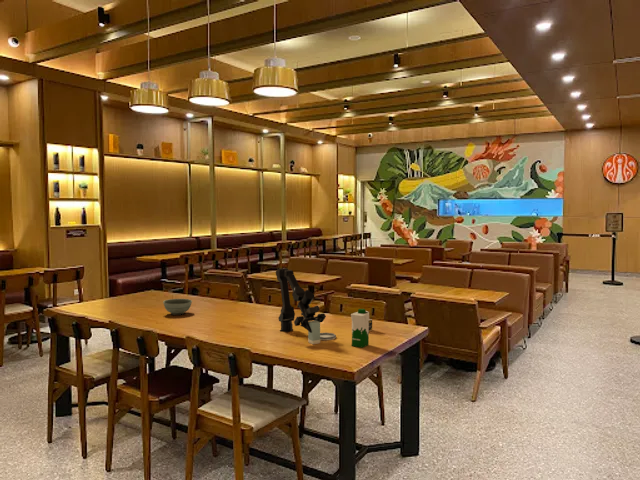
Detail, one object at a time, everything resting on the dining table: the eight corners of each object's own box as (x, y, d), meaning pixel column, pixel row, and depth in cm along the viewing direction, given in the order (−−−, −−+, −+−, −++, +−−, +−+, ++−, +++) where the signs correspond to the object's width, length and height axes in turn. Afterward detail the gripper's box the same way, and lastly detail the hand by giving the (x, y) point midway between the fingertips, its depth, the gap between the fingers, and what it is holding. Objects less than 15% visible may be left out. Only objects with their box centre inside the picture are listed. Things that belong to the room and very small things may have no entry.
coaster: (311, 338, 287) (311, 336, 287) (320, 334, 298) (320, 331, 298) (330, 341, 282) (330, 338, 282) (339, 336, 293) (339, 333, 293)
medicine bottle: (363, 332, 302) (363, 313, 301) (356, 330, 308) (356, 311, 307) (372, 330, 306) (372, 311, 306) (364, 328, 312) (364, 309, 311)
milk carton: (370, 344, 273) (370, 309, 272) (363, 348, 266) (362, 312, 265) (357, 342, 278) (356, 307, 277) (349, 346, 271) (348, 310, 270)
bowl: (169, 311, 374) (168, 298, 373) (196, 311, 373) (195, 298, 373) (159, 317, 353) (158, 303, 353) (187, 316, 352) (187, 303, 352)
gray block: (308, 342, 280) (308, 321, 279) (315, 341, 282) (315, 320, 282) (312, 344, 275) (312, 323, 275) (320, 343, 278) (320, 322, 277)
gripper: (296, 302, 276) (306, 325, 267) (324, 299, 286) (334, 321, 277) (289, 314, 283) (299, 337, 274) (317, 310, 293) (327, 332, 284)
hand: (315, 331), depth 277 cm, fingers closed on gray block, 5 cm apart
